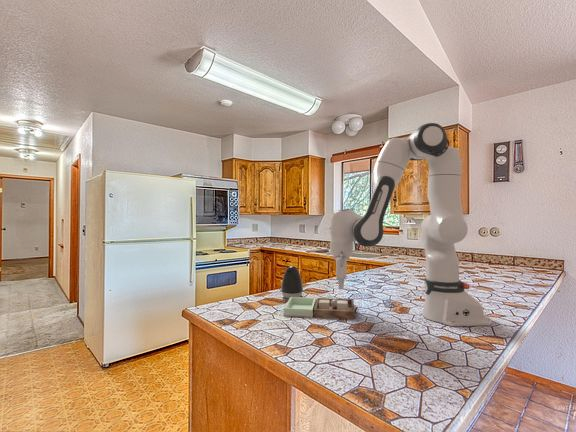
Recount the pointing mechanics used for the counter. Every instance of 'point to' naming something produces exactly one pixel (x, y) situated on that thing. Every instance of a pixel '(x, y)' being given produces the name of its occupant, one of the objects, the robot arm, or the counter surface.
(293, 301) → the green tray
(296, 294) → the black rounded cone
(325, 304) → the beige cube
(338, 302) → the small beige block
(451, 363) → the counter surface
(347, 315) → the walnut crate
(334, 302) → the round pebble
